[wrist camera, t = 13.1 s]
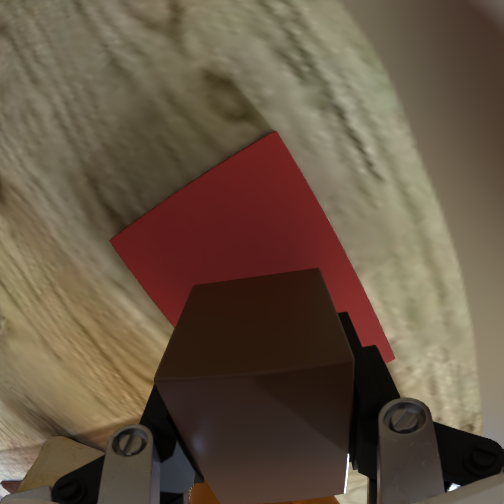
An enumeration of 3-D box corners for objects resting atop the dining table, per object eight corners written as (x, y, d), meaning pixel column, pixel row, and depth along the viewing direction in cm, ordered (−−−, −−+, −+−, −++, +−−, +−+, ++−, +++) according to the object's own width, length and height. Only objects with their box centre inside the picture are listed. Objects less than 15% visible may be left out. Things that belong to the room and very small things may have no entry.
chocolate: (192, 283, 10) (151, 379, 6) (319, 266, 10) (355, 358, 6) (230, 412, 12) (220, 504, 8) (328, 401, 12) (345, 494, 8)
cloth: (112, 238, 13) (108, 240, 13) (275, 130, 11) (275, 129, 11) (257, 415, 16) (257, 420, 16) (393, 354, 15) (395, 359, 14)
